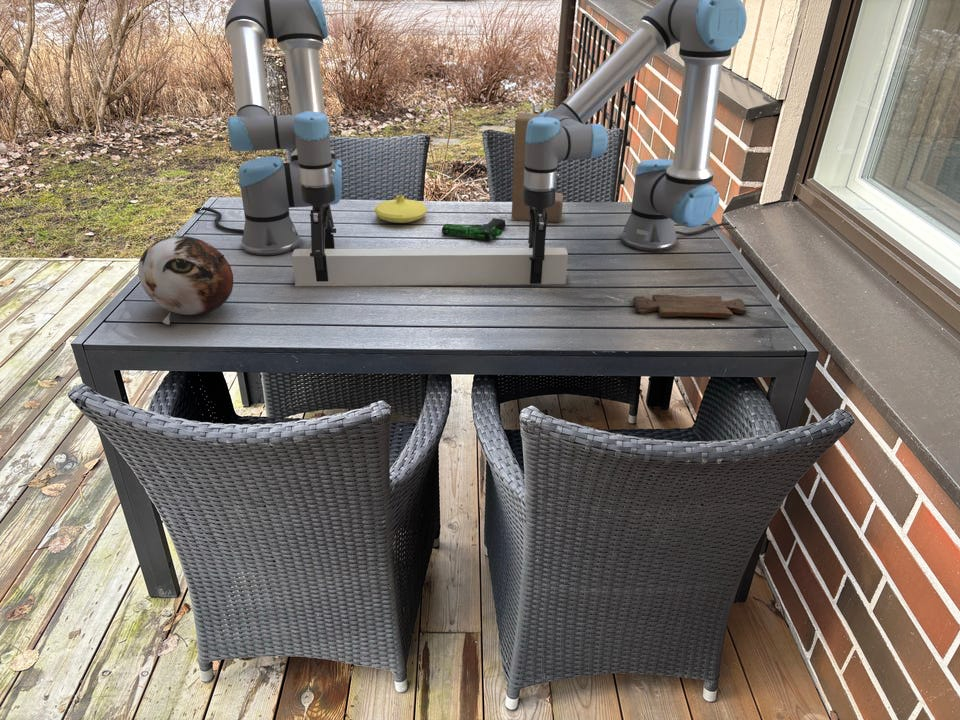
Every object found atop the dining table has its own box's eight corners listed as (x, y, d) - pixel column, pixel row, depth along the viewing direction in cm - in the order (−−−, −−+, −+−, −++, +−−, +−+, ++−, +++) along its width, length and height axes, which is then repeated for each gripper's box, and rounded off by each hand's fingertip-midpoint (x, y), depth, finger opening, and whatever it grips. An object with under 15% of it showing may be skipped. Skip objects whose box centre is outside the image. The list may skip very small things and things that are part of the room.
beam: (295, 286, 174) (291, 256, 170) (298, 278, 178) (294, 248, 174) (565, 284, 178) (568, 254, 174) (562, 276, 182) (565, 247, 178)
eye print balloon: (100, 300, 154) (135, 215, 156) (167, 323, 170) (198, 245, 171) (166, 325, 144) (203, 233, 145) (230, 347, 159) (263, 264, 161)
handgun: (511, 219, 210) (493, 234, 198) (511, 228, 211) (492, 244, 199) (461, 212, 215) (440, 226, 203) (461, 221, 217) (440, 236, 204)
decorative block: (560, 223, 215) (568, 120, 200) (511, 220, 217) (515, 118, 201) (561, 214, 221) (569, 114, 206) (513, 212, 223) (517, 112, 208)
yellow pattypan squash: (398, 206, 226) (397, 184, 222) (437, 217, 218) (437, 194, 214) (364, 220, 215) (362, 197, 211) (403, 231, 207) (402, 208, 203)
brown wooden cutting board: (751, 321, 162) (739, 301, 171) (753, 314, 161) (740, 295, 170) (638, 317, 162) (631, 298, 171) (639, 310, 162) (632, 291, 170)
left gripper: (326, 200, 154) (335, 290, 164) (340, 169, 175) (347, 250, 186) (291, 200, 153) (302, 291, 164) (309, 169, 175) (318, 250, 185)
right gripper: (561, 199, 160) (554, 293, 172) (550, 176, 175) (544, 264, 187) (527, 199, 159) (523, 294, 171) (520, 176, 174) (516, 264, 186)
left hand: (326, 269), depth 175 cm, fingers open, 13 cm apart
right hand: (534, 278), depth 179 cm, fingers closed on beam, 5 cm apart
